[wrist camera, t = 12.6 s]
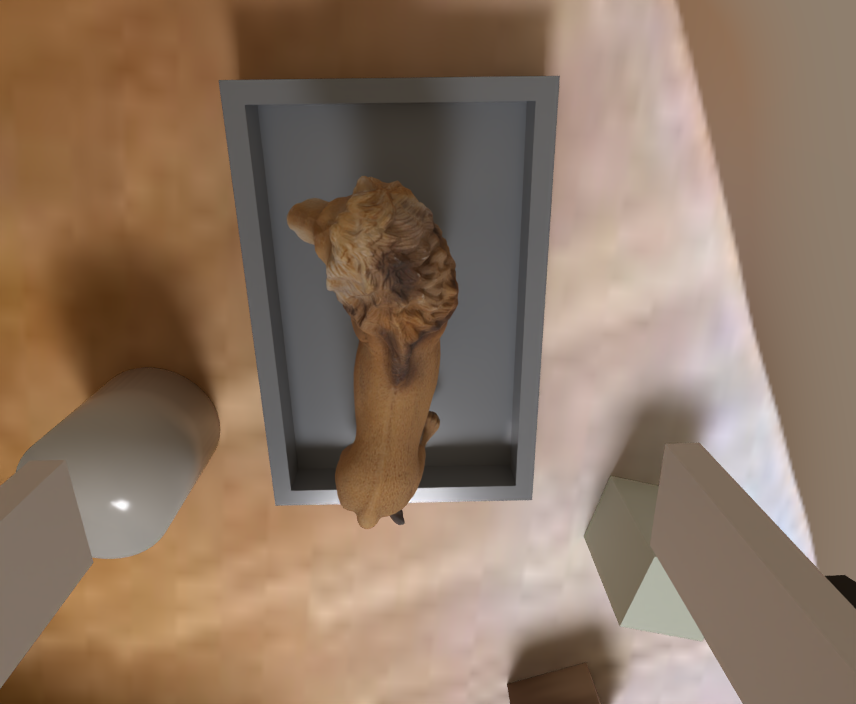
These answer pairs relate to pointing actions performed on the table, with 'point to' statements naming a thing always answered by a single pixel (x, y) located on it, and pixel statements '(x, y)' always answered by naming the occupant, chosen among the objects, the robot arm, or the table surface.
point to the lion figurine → (385, 333)
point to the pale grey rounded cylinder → (133, 456)
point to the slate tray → (461, 227)
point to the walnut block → (556, 688)
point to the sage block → (635, 562)
